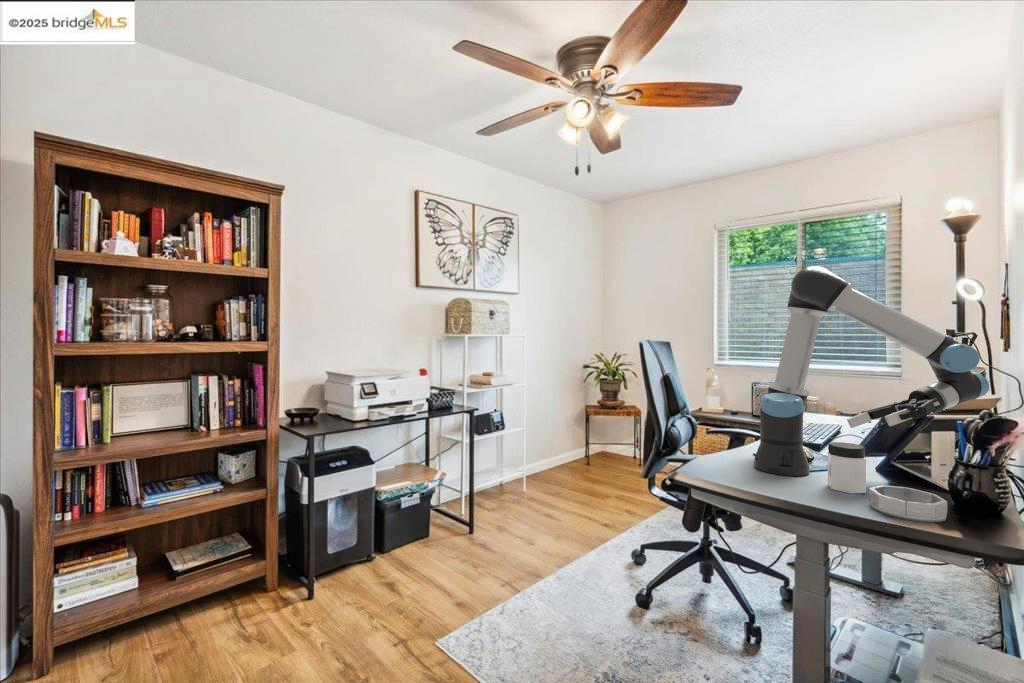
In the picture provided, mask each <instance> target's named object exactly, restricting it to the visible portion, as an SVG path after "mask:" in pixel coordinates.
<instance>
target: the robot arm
mask: <svg viewBox="0 0 1024 683" xmlns="http://www.w3.org/2000/svg"><path fill="white" fill-rule="evenodd" d="M790 288H791V289H790V294H789V299H788V300H787V301H788V303H787V306H786V308H787V310H788V311H789V313H790V316H789V320H788V325H787V329H786V333H785V338H784V342H783V345H782V346H783V347H782V350H781V355H780V358H779V363H778V367H777V371H776V377H775V379H774V380H775V381H774V382H773V383H772V384H769V385H768V388H767V391H766V394H763V395H762V396H761V398H760V402H759V408H760V409H759V410H760V415H759V416H760V418H759V420H760V421H759V422H760V426H759V427H760V432H759V433H760V434H759V438H760V440H759V445H758V448H757V450H756V453H755V456H754V459H753V467H754V468H755V469H756V468H757V470H758V469H759V470H758V471H761V472H765V473H769V474H772V475H778V474H779V475H778V476H786V477H787V476H790V477H803V476H807V475H809V474H810V463H809V462H808V458H807V455H806V453H805V450H804V449H805V448H804V412H805V408H806V405H807V399H808V397H809V396H808V392H807V391H806V390H805V384H806V381H807V377H808V373H809V369H810V364H811V361H812V360H811V359H812V356H813V352H814V348H815V344H816V339H817V336H818V331H819V329H820V328H819V327H820V323H821V319H822V318H823V317H824V316H826V315H827V314H829V311H834V312H835V311H836V312H837V313H840V314H841V315H843V316H845V317H847V318H849V319H851V320H852V321H855V322H856V323H858V324H860V325H862V326H864V327H866V328H868V330H869V329H870V330H871V331H873V332H875V333H876V334H879V335H881V336H883V337H884V338H887V339H888V340H890V341H892V342H895V343H896V344H898V345H900V346H902V347H903V348H906V349H907V350H910V351H911V352H912V353H915V354H916V355H919V356H921V357H922V358H924V359H926V360H927V362H928V363H929V366H930V367H931V369H932V371H933V373H934V375H935V377H936V379H937V382H935V383H932V384H931V383H930V384H929V385H927V386H924V387H921V388H918V389H915V390H912V391H911V392H910V393H909V395H908V399H903V400H901V401H899V402H897V401H895V402H892V403H890V404H886V405H883V406H879V407H875V408H871V409H868V410H863V411H861V413H859V414H858V415H854V416H851V417H848V418H846V421H847V423H848V425H849V427H850V428H851V429H853V428H856V427H859V426H862V425H865V424H867V423H868V424H871V423H872V421H873V420H877V419H881V418H882V419H883V418H884V419H885V421H886V424H887V426H888V427H893V426H896V425H898V424H901V423H904V422H907V421H910V420H912V419H917V418H919V417H920V416H921V417H922V418H923V417H925V418H926V417H927V415H929V414H930V413H931V412H933V413H935V414H937V413H936V412H938V413H940V412H943V411H946V410H945V409H948V408H949V409H950V408H953V407H956V406H958V405H962V404H965V403H967V401H968V402H971V401H975V400H977V399H979V398H981V397H983V396H985V395H986V394H987V393H988V392H989V391H990V382H989V380H988V379H987V378H986V377H985V376H983V374H982V373H979V372H977V371H972V370H974V369H975V368H976V367H977V366H978V365H979V363H980V361H981V360H980V358H981V356H980V353H979V352H978V350H976V349H975V348H974V347H973V346H971V345H969V344H965V343H961V342H959V341H957V340H955V339H954V338H953V337H952V335H951V334H950V335H949V334H946V335H945V334H943V333H941V332H940V331H937V330H936V329H933V328H932V327H930V326H927V325H925V324H923V323H921V322H919V321H917V320H916V319H913V318H912V317H909V316H907V315H906V314H903V313H902V312H900V311H898V310H895V309H894V308H891V307H890V306H888V305H886V304H884V303H882V302H880V301H878V300H876V299H874V298H872V297H871V296H868V295H866V294H864V293H862V292H860V291H858V290H856V289H854V288H853V287H852V284H851V282H848V281H847V280H846V279H845V280H844V279H843V278H842V277H839V276H838V275H836V274H834V273H833V272H831V271H830V270H828V269H827V268H825V267H821V266H818V265H817V266H808V267H805V268H802V269H801V270H799V271H798V272H797V273H796V274H795V275H794V277H793V278H792V281H791V286H790ZM970 400H971V401H970ZM942 410H943V411H942ZM892 412H896V413H893V414H891V413H892ZM929 416H930V415H929Z"/></svg>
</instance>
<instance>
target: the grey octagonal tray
mask: <svg viewBox="0 0 1024 683" xmlns="http://www.w3.org/2000/svg"><path fill="white" fill-rule="evenodd" d="M869 501H870V503H869V505H870V507H871V508H872V509H873V510H875V511H877V512H879V513H881V514H885V515H887V516H890V517H893V518H896V519H897V518H898V519H900V520H901V519H902V520H906V521H907V520H908V521H913V522H919V523H929V522H937V523H943V522H946V520H947V515H948V501H947V500H946V499H944V498H943V497H941V496H940V495H937V494H936V493H933V492H932V493H931V492H928V491H925V490H924V491H923V490H920V489H916V488H911V487H906V486H905V487H904V486H894V485H885V484H884V485H877V486H872V487H869ZM942 521H943V522H942Z"/></svg>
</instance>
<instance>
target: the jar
mask: <svg viewBox="0 0 1024 683" xmlns="http://www.w3.org/2000/svg"><path fill="white" fill-rule="evenodd" d="M827 449H828V452H827V485H828V487H829V489H830V490H832V489H833V491H837V492H841V493H846V494H851V495H852V494H866V492H867V458H866V448H865V446H863V445H860V444H857V443H852V442H851V443H850V442H841V441H839V442H837V441H836V442H829V443H828V447H827Z"/></svg>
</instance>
